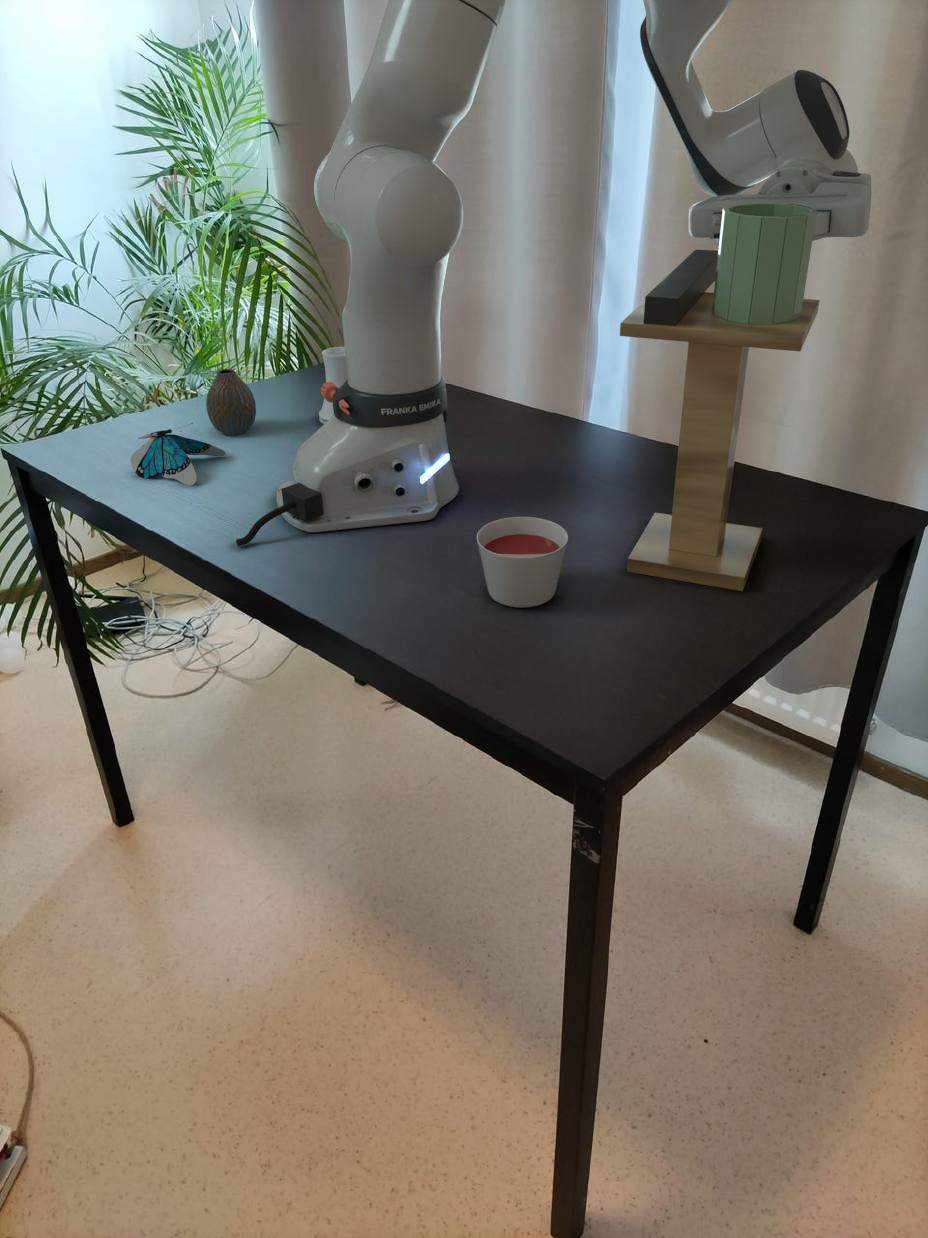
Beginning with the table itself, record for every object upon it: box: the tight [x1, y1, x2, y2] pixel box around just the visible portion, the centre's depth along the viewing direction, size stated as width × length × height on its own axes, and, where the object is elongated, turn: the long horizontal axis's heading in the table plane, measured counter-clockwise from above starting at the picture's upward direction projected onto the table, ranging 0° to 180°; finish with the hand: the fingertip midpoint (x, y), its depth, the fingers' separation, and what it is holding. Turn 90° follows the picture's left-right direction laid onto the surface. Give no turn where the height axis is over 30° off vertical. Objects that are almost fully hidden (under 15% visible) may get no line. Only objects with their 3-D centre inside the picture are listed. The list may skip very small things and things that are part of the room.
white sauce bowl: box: [476, 516, 569, 609], centre depth 98 cm, size 9×9×6 cm
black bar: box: [644, 249, 718, 326], centre depth 96 cm, size 22×3×2 cm, turn 157°
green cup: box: [712, 203, 817, 324], centre depth 88 cm, size 8×8×9 cm
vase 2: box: [318, 346, 347, 425], centre depth 142 cm, size 8×8×10 cm
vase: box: [205, 368, 257, 436], centre depth 139 cm, size 7×7×9 cm
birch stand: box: [619, 291, 821, 592], centre depth 98 cm, size 14×16×26 cm
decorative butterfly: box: [130, 422, 227, 487], centre depth 129 cm, size 10×6×10 cm
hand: (756, 231), depth 108 cm, fingers open, 8 cm apart
